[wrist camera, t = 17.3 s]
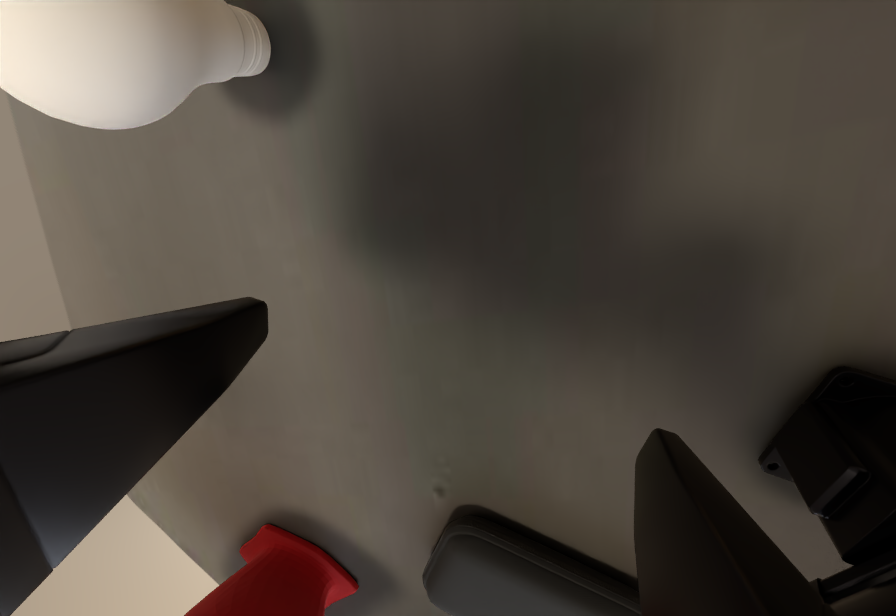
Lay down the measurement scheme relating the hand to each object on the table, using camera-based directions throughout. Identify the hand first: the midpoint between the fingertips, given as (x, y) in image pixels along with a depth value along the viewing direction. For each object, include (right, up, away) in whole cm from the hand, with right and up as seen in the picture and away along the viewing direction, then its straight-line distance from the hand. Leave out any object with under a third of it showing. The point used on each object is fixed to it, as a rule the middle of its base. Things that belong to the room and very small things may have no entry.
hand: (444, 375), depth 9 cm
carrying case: (+6, -18, +22) cm, 29 cm away
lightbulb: (-9, +14, +10) cm, 19 cm away
